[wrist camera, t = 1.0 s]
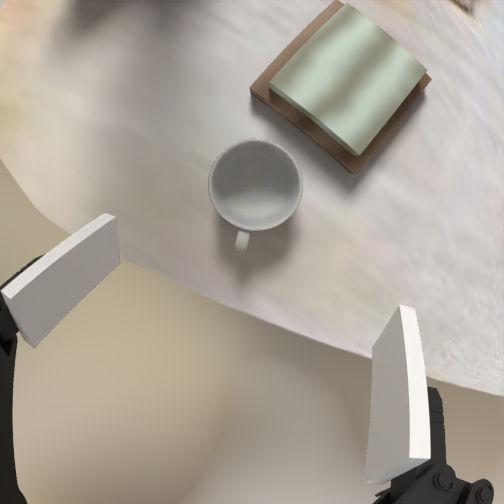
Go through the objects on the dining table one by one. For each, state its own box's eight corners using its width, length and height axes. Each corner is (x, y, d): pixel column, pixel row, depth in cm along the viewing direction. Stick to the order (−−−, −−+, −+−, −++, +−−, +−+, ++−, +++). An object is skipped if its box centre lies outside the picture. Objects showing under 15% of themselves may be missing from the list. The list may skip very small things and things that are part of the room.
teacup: (237, 131, 39) (230, 123, 31) (309, 163, 40) (319, 163, 32) (199, 220, 43) (184, 233, 35) (267, 251, 43) (267, 270, 36)
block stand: (250, 93, 37) (247, 81, 31) (332, 7, 32) (340, -11, 26) (351, 173, 39) (364, 175, 34) (422, 83, 34) (441, 74, 29)
